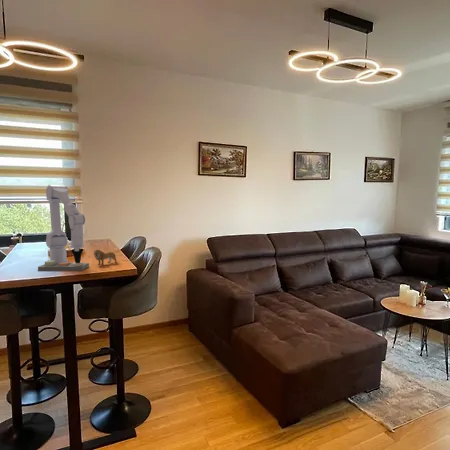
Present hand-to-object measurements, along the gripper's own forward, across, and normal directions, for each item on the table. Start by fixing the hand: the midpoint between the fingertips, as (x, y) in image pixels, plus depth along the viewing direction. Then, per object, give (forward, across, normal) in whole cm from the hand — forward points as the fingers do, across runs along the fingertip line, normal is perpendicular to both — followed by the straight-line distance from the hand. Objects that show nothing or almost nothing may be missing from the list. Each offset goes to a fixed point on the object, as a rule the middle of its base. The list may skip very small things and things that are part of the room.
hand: (77, 262), depth 177 cm
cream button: (+3, 0, 0) cm, 3 cm away
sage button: (+2, -4, -13) cm, 14 cm away
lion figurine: (+3, -8, +14) cm, 17 cm away
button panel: (+3, -2, -7) cm, 8 cm away
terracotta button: (+3, -2, -7) cm, 7 cm away
